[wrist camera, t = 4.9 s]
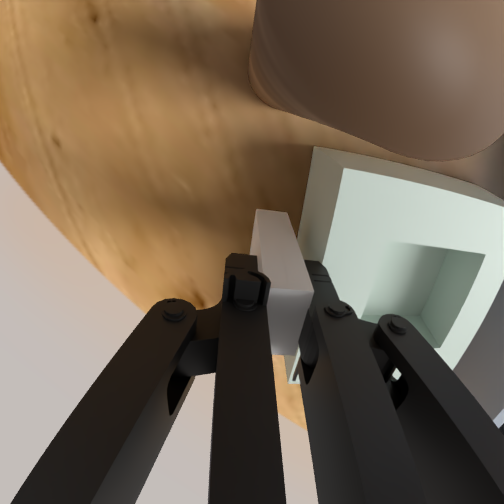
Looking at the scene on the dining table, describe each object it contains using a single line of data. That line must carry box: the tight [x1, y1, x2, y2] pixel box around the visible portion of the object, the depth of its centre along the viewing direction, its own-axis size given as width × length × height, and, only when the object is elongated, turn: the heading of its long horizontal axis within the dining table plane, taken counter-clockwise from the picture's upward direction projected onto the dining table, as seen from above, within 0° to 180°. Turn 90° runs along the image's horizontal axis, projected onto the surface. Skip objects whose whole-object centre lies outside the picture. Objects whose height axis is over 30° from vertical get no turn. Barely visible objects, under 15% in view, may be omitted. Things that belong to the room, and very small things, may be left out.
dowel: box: [248, 0, 504, 161], centre depth 8 cm, size 4×4×12 cm
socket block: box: [284, 146, 504, 384], centre depth 15 cm, size 11×11×5 cm
